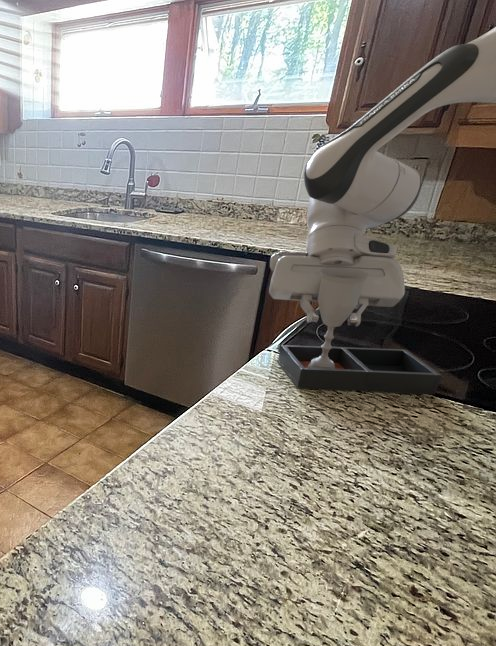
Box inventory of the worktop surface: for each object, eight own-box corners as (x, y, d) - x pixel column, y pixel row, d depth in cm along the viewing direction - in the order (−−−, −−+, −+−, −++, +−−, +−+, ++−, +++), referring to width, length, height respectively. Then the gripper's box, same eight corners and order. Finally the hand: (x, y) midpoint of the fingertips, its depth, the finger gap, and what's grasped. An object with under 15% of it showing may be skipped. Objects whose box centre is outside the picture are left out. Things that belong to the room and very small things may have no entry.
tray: (400, 367, 96) (406, 349, 95) (435, 394, 86) (442, 375, 85) (277, 362, 99) (280, 344, 98) (297, 388, 89) (301, 369, 88)
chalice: (310, 360, 98) (331, 265, 90) (349, 372, 93) (375, 272, 86) (291, 371, 93) (312, 273, 86) (332, 384, 89) (357, 280, 81)
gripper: (273, 241, 94) (269, 309, 89) (407, 246, 88) (410, 320, 83) (267, 260, 99) (263, 325, 95) (392, 266, 93) (394, 336, 89)
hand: (333, 323), depth 89 cm, fingers closed on chalice, 5 cm apart
